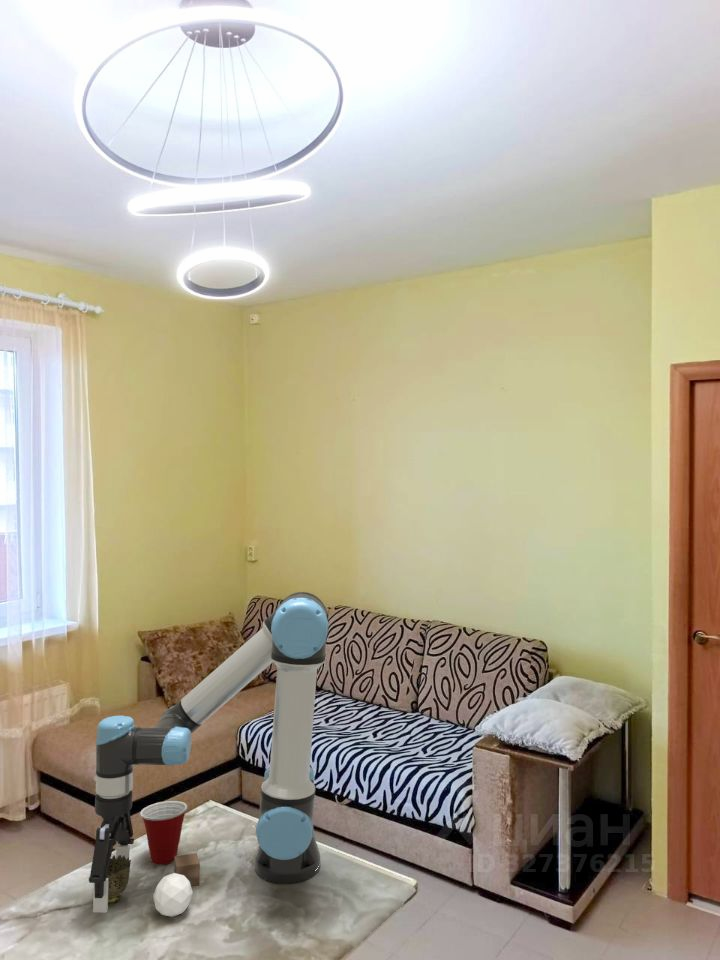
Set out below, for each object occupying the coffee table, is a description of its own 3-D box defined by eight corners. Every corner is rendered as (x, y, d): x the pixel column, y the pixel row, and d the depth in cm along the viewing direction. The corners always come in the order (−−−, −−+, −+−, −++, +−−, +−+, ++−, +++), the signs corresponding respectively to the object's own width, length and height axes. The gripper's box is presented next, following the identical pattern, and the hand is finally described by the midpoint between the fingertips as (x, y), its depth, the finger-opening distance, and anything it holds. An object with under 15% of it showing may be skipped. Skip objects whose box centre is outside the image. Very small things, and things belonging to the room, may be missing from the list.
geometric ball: (178, 920, 150) (200, 882, 153) (176, 928, 143) (198, 887, 146) (148, 901, 150) (170, 863, 154) (143, 908, 143) (167, 868, 146)
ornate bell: (118, 913, 148) (118, 874, 148) (85, 908, 149) (86, 870, 149) (136, 893, 155) (137, 856, 155) (105, 889, 156) (106, 852, 157)
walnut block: (196, 874, 163) (196, 852, 163) (199, 886, 159) (199, 863, 159) (173, 878, 162) (174, 856, 162) (176, 890, 157) (176, 866, 157)
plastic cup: (166, 843, 178) (167, 794, 178) (195, 856, 171) (196, 805, 171) (129, 860, 169) (130, 809, 169) (159, 875, 162) (160, 822, 163)
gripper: (116, 769, 165) (114, 862, 164) (73, 818, 140) (70, 927, 140) (148, 769, 165) (146, 862, 164) (111, 818, 140) (109, 928, 140)
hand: (111, 893), depth 152 cm, fingers open, 13 cm apart
